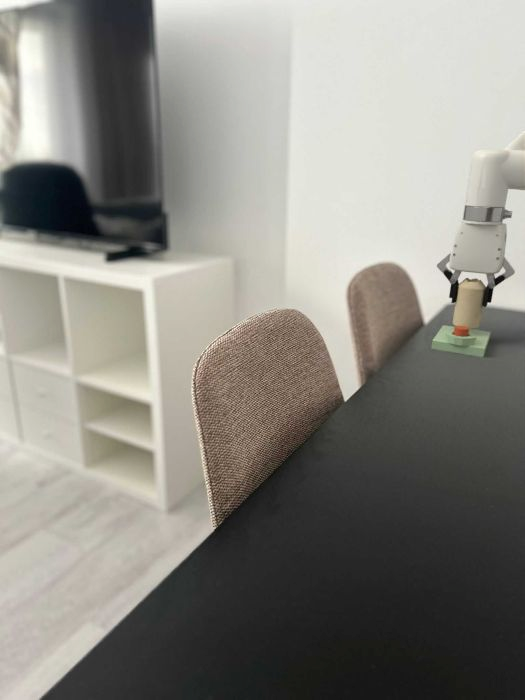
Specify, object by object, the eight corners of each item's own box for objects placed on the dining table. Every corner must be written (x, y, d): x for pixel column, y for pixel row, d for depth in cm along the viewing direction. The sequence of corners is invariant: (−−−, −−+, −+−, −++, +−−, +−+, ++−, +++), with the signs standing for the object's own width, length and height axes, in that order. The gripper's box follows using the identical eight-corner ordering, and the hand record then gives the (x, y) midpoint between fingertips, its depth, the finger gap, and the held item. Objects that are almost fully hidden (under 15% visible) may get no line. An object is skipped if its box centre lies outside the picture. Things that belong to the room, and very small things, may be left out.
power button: (468, 335, 105) (470, 326, 104) (467, 338, 102) (468, 330, 102) (454, 332, 106) (455, 324, 105) (452, 336, 103) (453, 328, 103)
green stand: (489, 340, 112) (491, 324, 111) (483, 358, 101) (485, 341, 99) (441, 333, 116) (443, 318, 115) (430, 350, 105) (432, 333, 104)
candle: (447, 324, 110) (454, 278, 107) (459, 320, 114) (466, 275, 110) (472, 330, 106) (480, 282, 103) (484, 325, 110) (491, 279, 107)
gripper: (531, 217, 102) (514, 305, 108) (441, 212, 109) (430, 295, 115) (530, 219, 96) (512, 313, 102) (435, 214, 103) (424, 302, 109)
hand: (469, 302), depth 108 cm, fingers closed on candle, 5 cm apart
